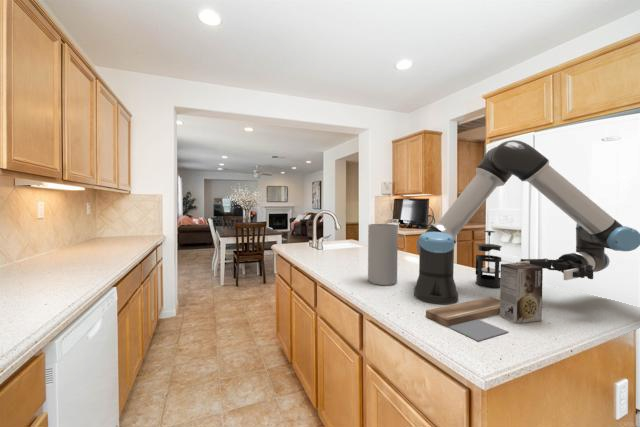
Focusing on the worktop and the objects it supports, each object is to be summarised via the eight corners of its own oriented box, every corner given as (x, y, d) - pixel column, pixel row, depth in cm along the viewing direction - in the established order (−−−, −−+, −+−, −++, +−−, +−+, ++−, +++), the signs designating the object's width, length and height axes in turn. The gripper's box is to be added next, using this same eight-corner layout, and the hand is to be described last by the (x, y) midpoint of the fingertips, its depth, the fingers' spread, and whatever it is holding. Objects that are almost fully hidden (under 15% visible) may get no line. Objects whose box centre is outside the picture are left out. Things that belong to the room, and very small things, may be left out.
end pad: (448, 327, 80) (448, 326, 80) (477, 320, 85) (477, 319, 85) (478, 341, 72) (478, 340, 72) (508, 332, 77) (508, 331, 77)
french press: (508, 288, 117) (509, 231, 117) (488, 289, 115) (489, 232, 115) (486, 280, 129) (487, 229, 128) (467, 281, 127) (468, 229, 126)
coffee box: (522, 312, 91) (524, 262, 90) (542, 321, 84) (544, 266, 84) (498, 315, 89) (499, 263, 88) (516, 323, 83) (518, 268, 82)
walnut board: (425, 316, 87) (425, 309, 87) (490, 302, 100) (490, 296, 100) (447, 327, 80) (447, 319, 80) (514, 310, 93) (514, 304, 93)
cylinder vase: (387, 277, 134) (387, 223, 133) (402, 284, 122) (403, 225, 121) (362, 279, 130) (363, 224, 129) (377, 287, 118) (377, 226, 117)
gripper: (624, 283, 88) (589, 293, 79) (535, 267, 111) (500, 274, 102) (625, 259, 88) (589, 266, 79) (535, 248, 111) (500, 253, 102)
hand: (539, 270), depth 91 cm, fingers open, 13 cm apart
